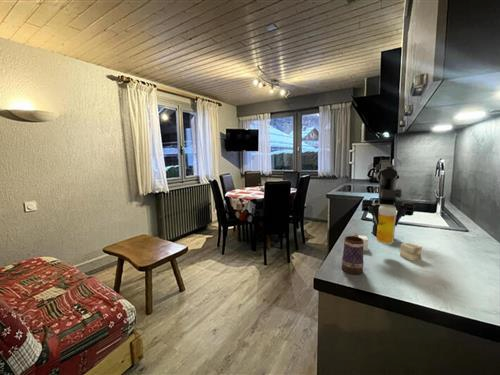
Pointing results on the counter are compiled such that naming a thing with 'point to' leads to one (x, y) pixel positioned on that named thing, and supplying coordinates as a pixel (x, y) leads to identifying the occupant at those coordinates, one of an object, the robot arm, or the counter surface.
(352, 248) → the mug
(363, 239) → the cream plastic block
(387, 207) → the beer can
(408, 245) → the birch block
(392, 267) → the counter surface
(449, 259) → the counter surface
